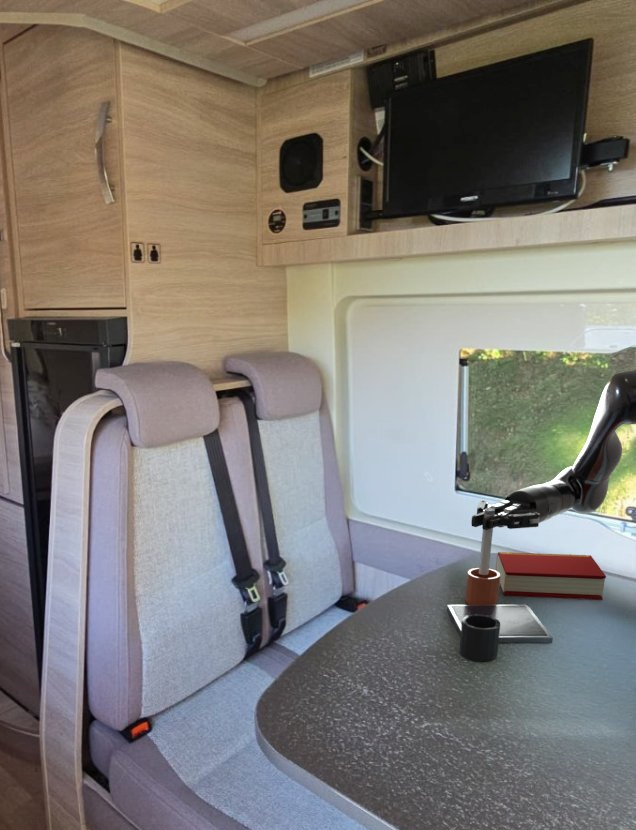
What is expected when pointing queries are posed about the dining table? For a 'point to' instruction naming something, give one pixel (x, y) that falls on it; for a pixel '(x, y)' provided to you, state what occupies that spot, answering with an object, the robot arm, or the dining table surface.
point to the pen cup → (482, 587)
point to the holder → (479, 637)
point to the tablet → (506, 622)
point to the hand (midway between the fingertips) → (479, 523)
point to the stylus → (486, 545)
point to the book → (550, 575)
